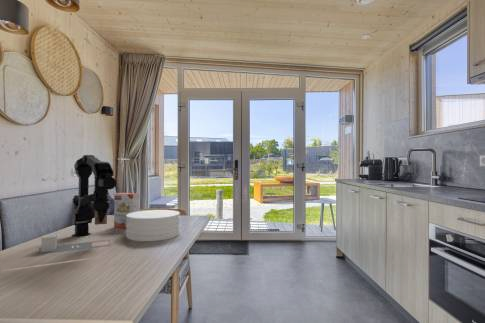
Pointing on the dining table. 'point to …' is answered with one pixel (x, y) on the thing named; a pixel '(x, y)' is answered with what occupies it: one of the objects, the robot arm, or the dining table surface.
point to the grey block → (49, 243)
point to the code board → (77, 246)
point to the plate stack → (152, 225)
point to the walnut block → (98, 219)
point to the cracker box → (124, 207)
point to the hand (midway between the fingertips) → (100, 221)
